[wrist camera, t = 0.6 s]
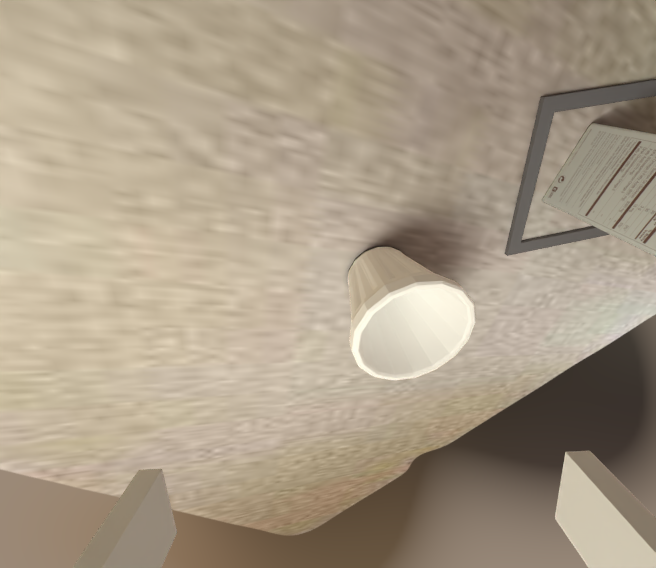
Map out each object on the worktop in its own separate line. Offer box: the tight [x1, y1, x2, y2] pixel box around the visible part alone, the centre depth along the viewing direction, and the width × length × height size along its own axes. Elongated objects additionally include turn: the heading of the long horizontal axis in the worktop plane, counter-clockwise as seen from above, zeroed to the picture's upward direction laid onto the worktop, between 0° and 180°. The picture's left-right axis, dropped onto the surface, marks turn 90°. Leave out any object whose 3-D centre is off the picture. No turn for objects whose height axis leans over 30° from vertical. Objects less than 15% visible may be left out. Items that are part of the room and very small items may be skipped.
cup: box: [348, 247, 476, 380], centre depth 29 cm, size 10×10×9 cm
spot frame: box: [505, 79, 656, 256], centre depth 31 cm, size 14×14×1 cm
